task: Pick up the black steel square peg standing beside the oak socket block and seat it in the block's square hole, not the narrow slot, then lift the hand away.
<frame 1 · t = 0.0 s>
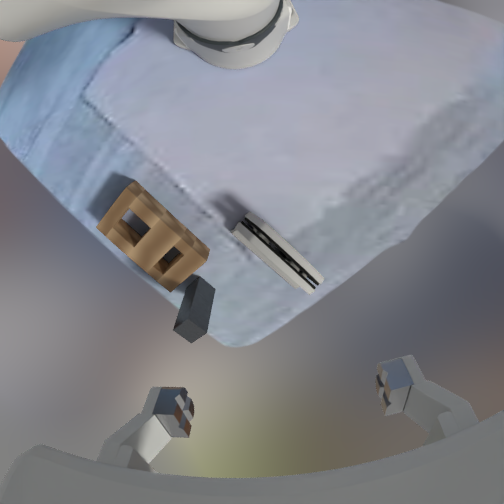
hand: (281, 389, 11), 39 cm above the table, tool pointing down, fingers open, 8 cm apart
socket block: (155, 233, 51), on the table
grey piece: (278, 245, 52), on the table
steel peg: (200, 288, 57), on the table
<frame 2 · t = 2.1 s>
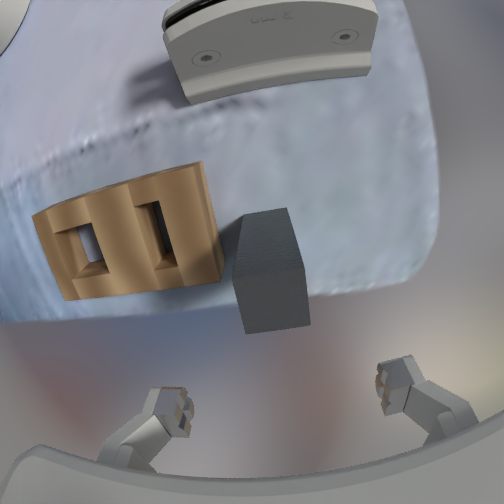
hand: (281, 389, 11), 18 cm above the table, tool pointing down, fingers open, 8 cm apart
socket block: (129, 230, 28), on the table
grey piece: (271, 46, 21), on the table
steel peg: (268, 231, 28), on the table
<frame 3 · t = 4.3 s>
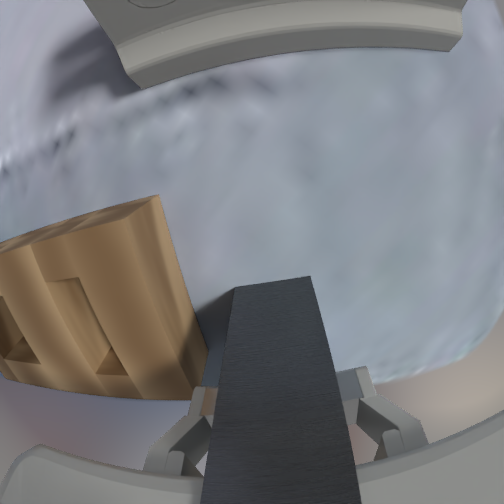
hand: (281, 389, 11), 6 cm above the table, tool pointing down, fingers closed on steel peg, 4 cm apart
socket block: (65, 298, 17), on the table
steel peg: (277, 312, 16), on the table, touching gripper
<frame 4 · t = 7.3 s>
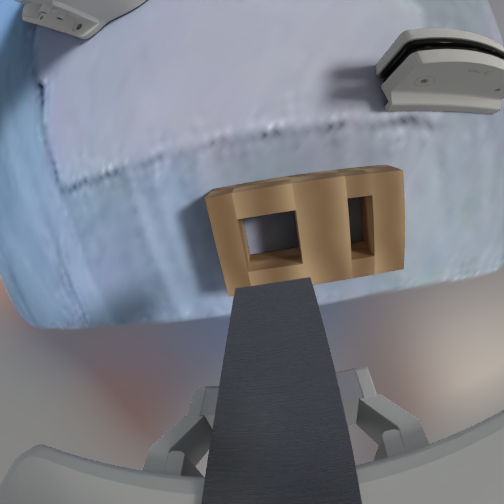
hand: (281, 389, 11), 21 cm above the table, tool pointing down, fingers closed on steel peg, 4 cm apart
socket block: (308, 222, 30), on the table
grey piece: (439, 78, 23), on the table
steel peg: (277, 313, 16), point 15 cm above the table, touching gripper
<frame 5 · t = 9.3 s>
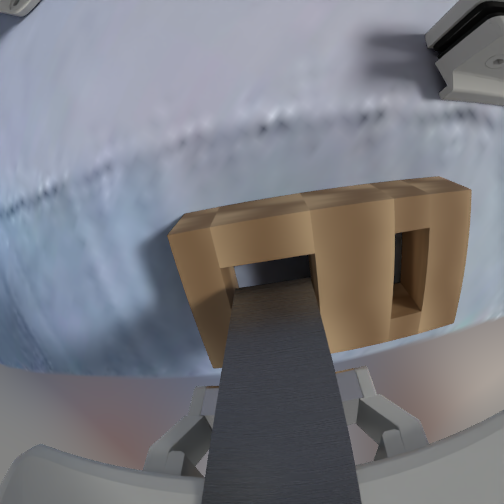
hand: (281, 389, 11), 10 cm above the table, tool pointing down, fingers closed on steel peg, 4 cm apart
socket block: (328, 260, 20), on the table
grey piece: (498, 63, 13), on the table
steel peg: (277, 313, 16), point 5 cm above the table, touching gripper
when the fingers open (7 cm above the table, at t = 10.9 s): steel peg stays where it is, resting in socket block.
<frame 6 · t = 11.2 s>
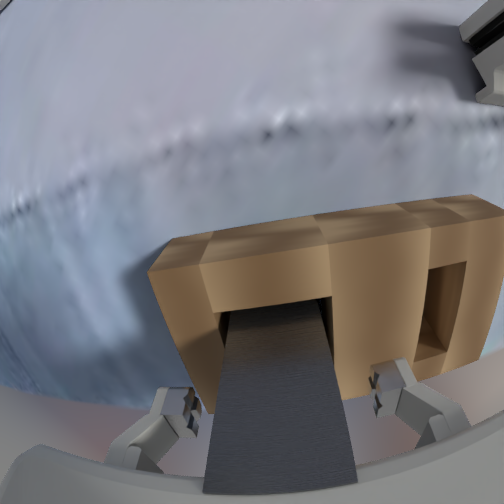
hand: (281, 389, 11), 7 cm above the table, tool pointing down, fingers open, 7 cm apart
socket block: (343, 292, 17), on the table
steel peg: (277, 303, 17), resting in socket block
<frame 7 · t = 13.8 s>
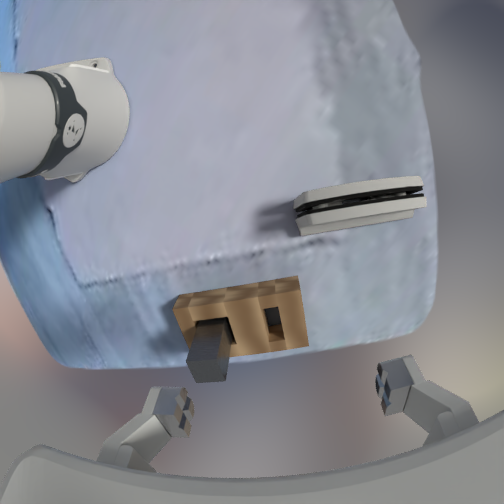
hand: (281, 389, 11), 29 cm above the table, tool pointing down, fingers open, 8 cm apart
socket block: (243, 313, 45), on the table
grey piece: (353, 198, 37), on the table
steel peg: (219, 317, 45), resting in socket block
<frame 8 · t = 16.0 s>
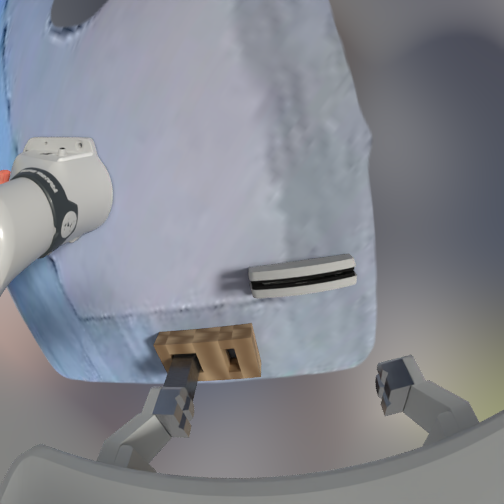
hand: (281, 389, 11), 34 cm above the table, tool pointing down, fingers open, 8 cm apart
socket block: (210, 348, 54), on the table
grey piece: (300, 266, 47), on the table
steel peg: (191, 349, 55), resting in socket block
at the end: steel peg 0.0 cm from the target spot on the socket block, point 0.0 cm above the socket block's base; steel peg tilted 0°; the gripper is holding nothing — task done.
